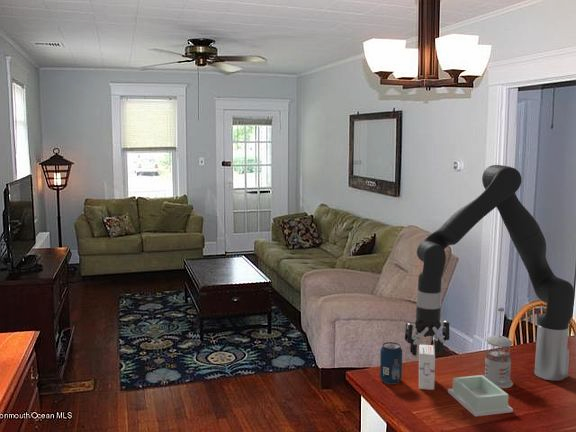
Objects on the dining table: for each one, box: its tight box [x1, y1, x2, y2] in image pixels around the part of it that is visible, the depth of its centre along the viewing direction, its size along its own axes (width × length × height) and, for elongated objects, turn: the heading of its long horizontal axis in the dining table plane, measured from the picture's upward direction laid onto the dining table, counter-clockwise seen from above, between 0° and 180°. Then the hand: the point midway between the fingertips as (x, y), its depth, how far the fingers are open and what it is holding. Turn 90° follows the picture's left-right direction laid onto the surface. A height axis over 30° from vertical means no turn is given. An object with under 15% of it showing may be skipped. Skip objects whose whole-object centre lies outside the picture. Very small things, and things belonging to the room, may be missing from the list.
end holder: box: [447, 374, 514, 417], centre depth 174 cm, size 12×16×5 cm
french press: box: [483, 306, 514, 389], centre depth 187 cm, size 10×12×25 cm
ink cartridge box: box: [418, 336, 436, 391], centre depth 186 cm, size 9×5×15 cm, turn 168°
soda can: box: [379, 341, 403, 385], centre depth 188 cm, size 7×7×12 cm
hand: (426, 353), depth 185 cm, fingers open, 8 cm apart
